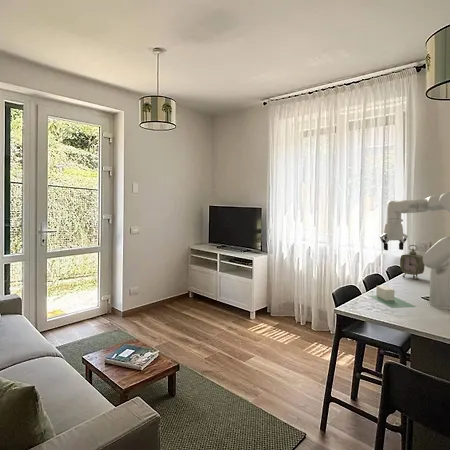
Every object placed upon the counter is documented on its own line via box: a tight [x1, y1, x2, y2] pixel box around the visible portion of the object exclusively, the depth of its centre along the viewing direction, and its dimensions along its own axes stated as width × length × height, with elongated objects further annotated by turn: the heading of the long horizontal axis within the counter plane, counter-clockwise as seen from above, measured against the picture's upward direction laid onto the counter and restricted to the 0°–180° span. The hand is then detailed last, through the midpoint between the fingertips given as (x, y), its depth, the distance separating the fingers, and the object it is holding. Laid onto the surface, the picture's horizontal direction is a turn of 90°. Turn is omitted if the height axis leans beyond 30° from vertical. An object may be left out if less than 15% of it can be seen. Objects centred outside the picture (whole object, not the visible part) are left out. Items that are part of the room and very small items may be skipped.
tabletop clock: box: [399, 244, 426, 281], centre depth 257 cm, size 14×9×25 cm, turn 28°
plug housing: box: [375, 285, 395, 301], centre depth 201 cm, size 5×10×6 cm, turn 6°
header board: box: [369, 294, 417, 309], centre depth 195 cm, size 14×24×5 cm, turn 6°
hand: (393, 249), depth 207 cm, fingers open, 9 cm apart
